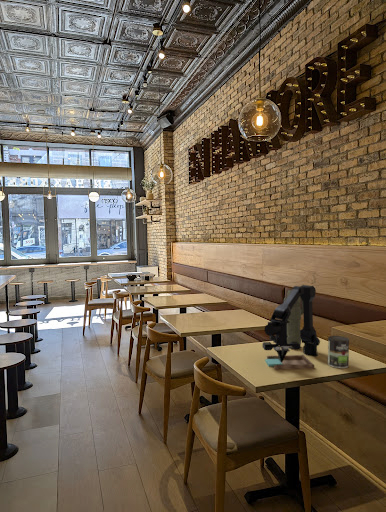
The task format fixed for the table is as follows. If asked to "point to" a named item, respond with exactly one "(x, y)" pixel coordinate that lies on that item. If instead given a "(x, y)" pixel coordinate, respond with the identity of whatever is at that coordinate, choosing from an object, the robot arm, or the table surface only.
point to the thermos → (294, 321)
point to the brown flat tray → (293, 362)
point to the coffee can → (338, 351)
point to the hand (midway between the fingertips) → (281, 362)
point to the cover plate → (273, 362)
